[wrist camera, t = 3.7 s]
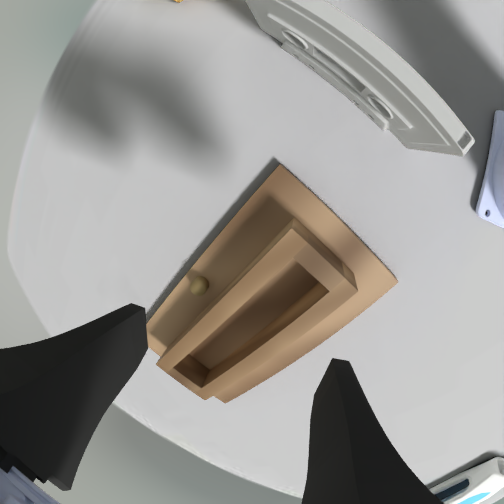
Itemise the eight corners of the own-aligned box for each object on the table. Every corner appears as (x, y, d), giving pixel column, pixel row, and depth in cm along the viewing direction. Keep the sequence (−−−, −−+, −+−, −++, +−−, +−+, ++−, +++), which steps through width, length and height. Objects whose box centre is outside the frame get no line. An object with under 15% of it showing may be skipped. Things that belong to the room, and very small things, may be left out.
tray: (396, 278, 18) (407, 300, 15) (226, 399, 26) (218, 421, 23) (280, 163, 17) (274, 167, 14) (139, 333, 25) (123, 352, 22)
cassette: (255, 34, 14) (216, -23, 7) (273, 16, 13) (246, -48, 6) (403, 155, 15) (460, 167, 8) (420, 135, 14) (484, 137, 7)
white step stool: (513, 460, 25) (518, 479, 19) (422, 510, 37) (423, 527, 31) (489, 453, 24) (496, 478, 19) (377, 508, 36) (377, 530, 30)
